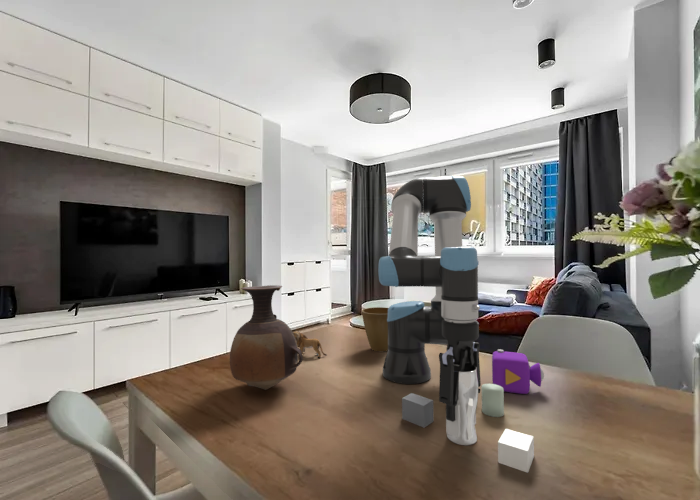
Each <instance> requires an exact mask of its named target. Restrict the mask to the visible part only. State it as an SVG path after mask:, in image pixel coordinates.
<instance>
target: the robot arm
mask: <svg viewBox="0 0 700 500" xmlns="http://www.w3.org/2000/svg"><path fill="white" fill-rule="evenodd" d="M470 190H471V189H470V185H469V183H468V180H467V179H466V177H464V176H462V175H450V176H449V175H448V176H435V177H431V176H430V177H417V178H414V179H411V180H409V181H407V182H406V183H404V184H402V186H401V187H400V188H398V190H397V191H396V192H395V194H394V195H393V198H392V201H391V205H390V209H391V213H392V215H393V217H392V224H391V233H390V240H389V250H388V255H386V256H381V257H380V258H379V260H378V270H377V271H378V281H379V283H380V284H381V286H384V287H395V288H398V287H399V288H401V287H404V288H405V287H426V288H427V287H429V288H430V287H431V288H432V287H435V296H434V297H433V298H432V299H431V300H430V305H428V306H427V305H425V302H424V301H422V300H411V301H402V302H397V303H393V304H391V305H390V306H388V307H387V308H388V317H387V322H388V351H386V352H387V353H386V356H385V359H384V363H383V366H382V376H383V379H386V380H388V381H390V382H392V383H393V382H394V383H396V384H402V385H403V384H405V385H414V384H415V385H417V384H421V383H425V382H427V381H428V380H430V379H431V377H432V373H431V372H432V371H431V367H430V363H429V361H428V358H427V354H426V352H425V348H426V347H425V344H426V345H444V346H445V345H446V351H445V352H439V354H438V359H439V360H438V361H439V383H438V384H439V386H438V389H439V390H438V401H439V403H441V404H445V427H446V428H445V429H446V435H447V434H450V435H452V436H455V437H457V438H459V437H460V404H457V402H458V394H459V371H461V372H468V371H472V365H474V366H476V367H477V376H478V394H480V393H481V391H482V389H481V388H480V387H481V386H482V383H481V382H482V381H481V367H480V366H481V365H480V342H475V341H478V339H479V338H480V328H479V327H480V326H479V325H480V323H479V322H478V319H479V311H480V309H481V306H480V305H479V289H478V288H479V282H478V281H479V276H478V275H479V272H478V270H479V269H478V268H479V259H478V251H477V249H476V247H473V246H463V228H462V224H463V223H462V221H463V220H464V219H465V218H466V217H467V213H468V212H469V211H471V210H472V209H471V208H472V201H471V200H472V198H471V197H472V196H471V191H470ZM427 213H428V214H429V219H430V220H431V221H432V222H433V224H434V225H433V228H434V255H418V254H419V253H418V246H419V245H418V244H419V241H418V240H419V239H418V237H419V234H418V233H419V232H418V231H419V215H420V214H427ZM454 364H455V365H459V366H455V365H454ZM454 371H458V372H456V373H454ZM476 424H477V412H476V413H475V425H476Z"/></svg>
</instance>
